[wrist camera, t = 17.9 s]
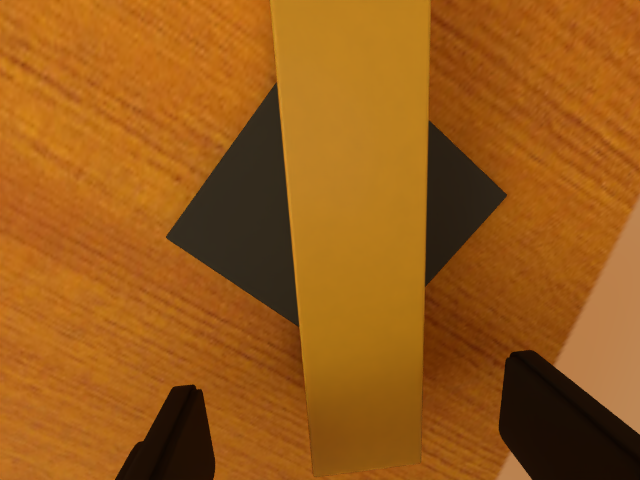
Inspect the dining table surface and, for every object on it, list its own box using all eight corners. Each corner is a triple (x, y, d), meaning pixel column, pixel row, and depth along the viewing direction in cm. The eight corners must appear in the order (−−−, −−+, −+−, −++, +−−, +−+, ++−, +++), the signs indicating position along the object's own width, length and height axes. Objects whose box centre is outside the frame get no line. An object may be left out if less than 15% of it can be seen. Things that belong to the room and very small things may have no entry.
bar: (269, -40, 8) (255, -148, 5) (387, -43, 8) (436, -149, 6) (308, 400, 12) (313, 479, 9) (391, 391, 12) (422, 465, 9)
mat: (500, 194, 11) (508, 195, 10) (353, 358, 12) (355, 365, 12) (321, 23, 9) (322, 17, 9) (169, 235, 10) (164, 238, 10)
